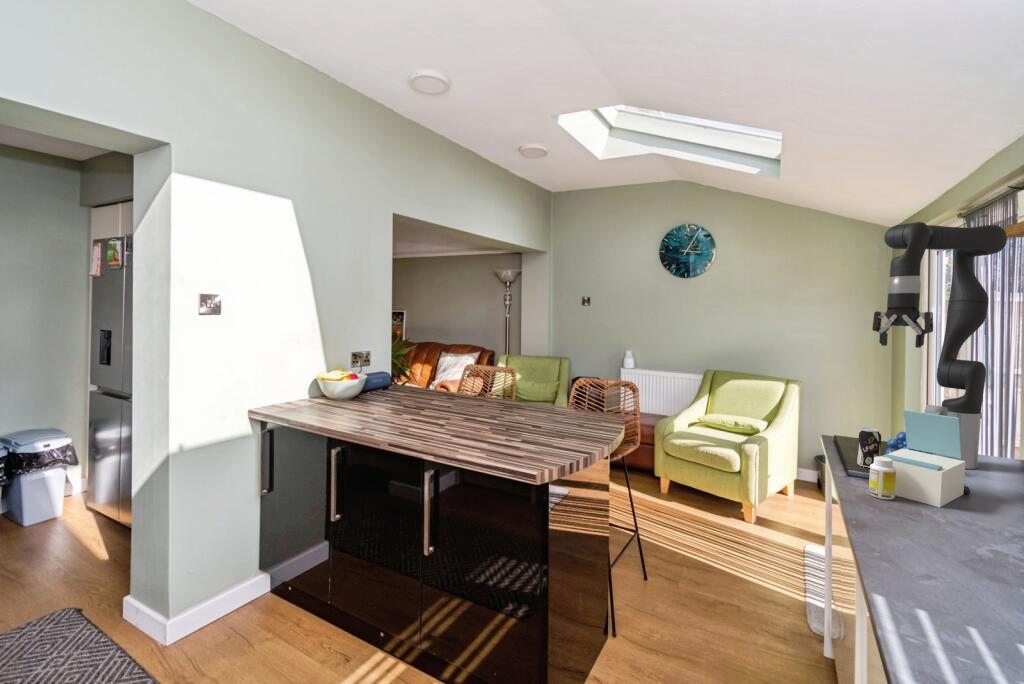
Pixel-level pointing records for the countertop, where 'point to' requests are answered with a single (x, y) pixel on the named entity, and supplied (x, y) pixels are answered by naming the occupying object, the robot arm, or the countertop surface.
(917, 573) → the countertop surface
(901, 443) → the grapes
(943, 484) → the carton
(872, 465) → the supplement bottle
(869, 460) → the beverage can
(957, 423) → the flap
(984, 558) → the countertop surface
